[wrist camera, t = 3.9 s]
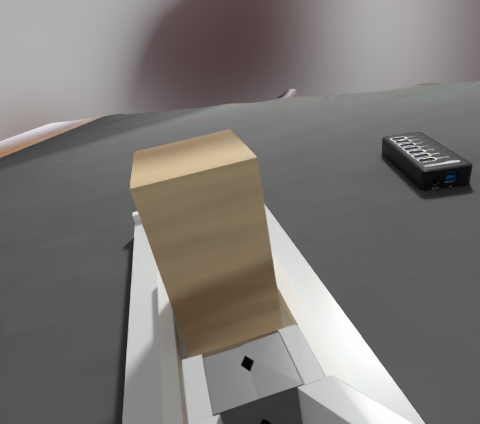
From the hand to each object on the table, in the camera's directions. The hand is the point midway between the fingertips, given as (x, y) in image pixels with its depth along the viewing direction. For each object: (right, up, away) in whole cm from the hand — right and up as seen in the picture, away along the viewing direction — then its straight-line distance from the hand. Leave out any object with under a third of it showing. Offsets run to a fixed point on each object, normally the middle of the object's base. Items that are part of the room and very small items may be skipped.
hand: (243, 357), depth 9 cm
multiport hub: (+19, +8, +28) cm, 35 cm away
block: (-1, -2, +11) cm, 11 cm away
